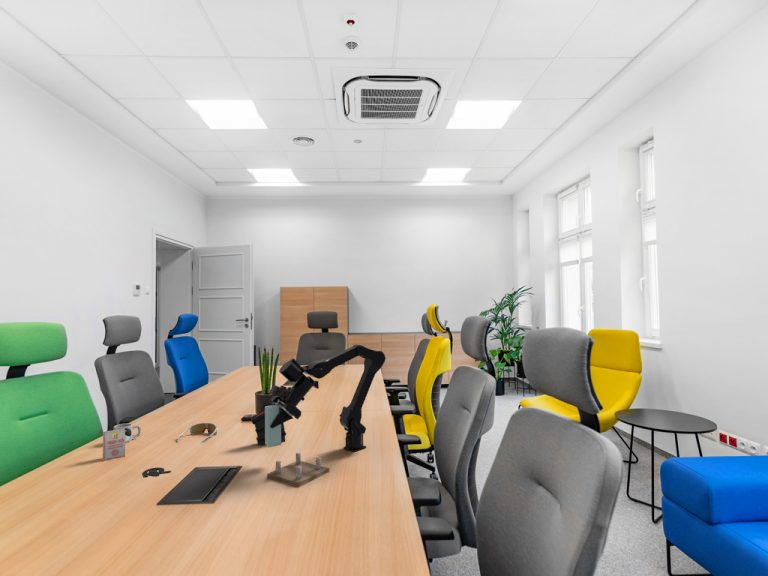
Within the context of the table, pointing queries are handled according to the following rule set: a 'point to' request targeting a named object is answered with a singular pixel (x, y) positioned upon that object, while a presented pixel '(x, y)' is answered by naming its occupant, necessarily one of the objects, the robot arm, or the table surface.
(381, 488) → the table surface
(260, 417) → the black ridged slab
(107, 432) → the small printed box
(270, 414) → the block
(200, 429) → the sunglasses
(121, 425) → the mug
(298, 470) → the pin stand
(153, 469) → the black flat pronged piece
